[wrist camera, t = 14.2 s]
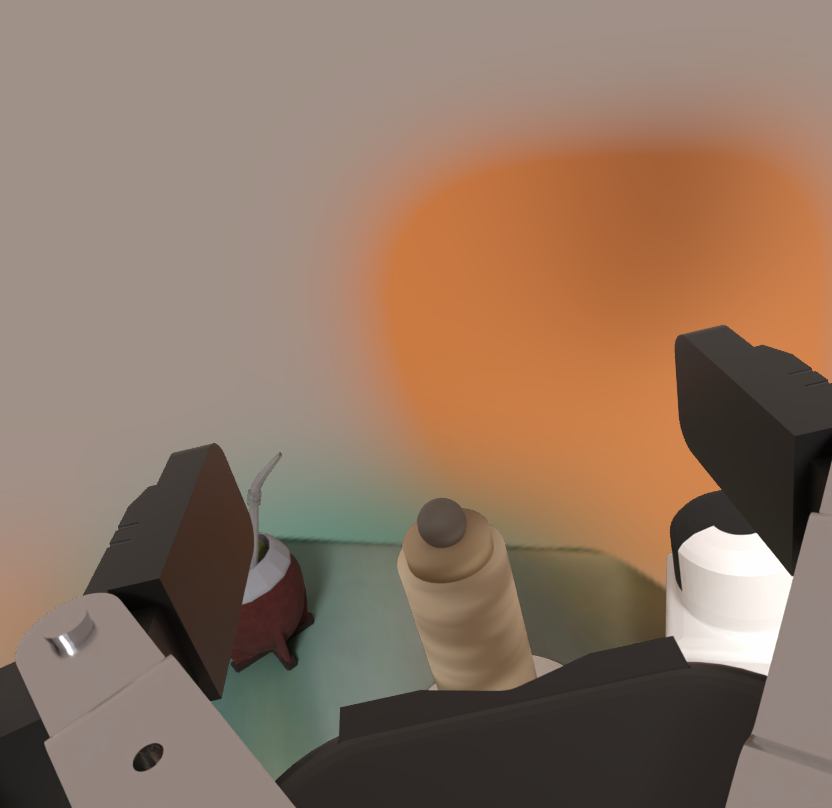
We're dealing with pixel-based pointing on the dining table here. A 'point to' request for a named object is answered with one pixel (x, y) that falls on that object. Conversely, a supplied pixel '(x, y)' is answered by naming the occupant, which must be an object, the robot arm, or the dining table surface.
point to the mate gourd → (269, 595)
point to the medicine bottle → (723, 587)
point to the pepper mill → (464, 600)
